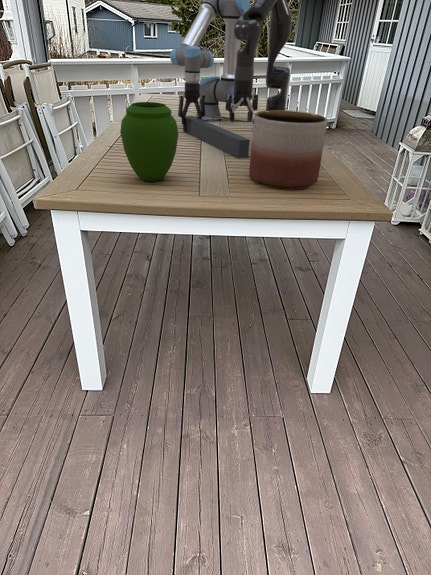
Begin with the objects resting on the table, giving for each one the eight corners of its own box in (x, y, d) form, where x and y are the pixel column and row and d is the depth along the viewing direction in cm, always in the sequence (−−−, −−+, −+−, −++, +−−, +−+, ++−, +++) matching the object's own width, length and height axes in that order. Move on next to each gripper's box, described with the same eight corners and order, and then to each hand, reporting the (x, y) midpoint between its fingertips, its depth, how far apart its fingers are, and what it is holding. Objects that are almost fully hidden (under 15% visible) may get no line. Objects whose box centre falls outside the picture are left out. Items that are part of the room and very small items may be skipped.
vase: (131, 189, 135) (125, 110, 122) (118, 172, 150) (112, 100, 137) (186, 184, 142) (187, 109, 129) (169, 168, 157) (167, 99, 144)
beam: (183, 131, 217) (183, 116, 213) (192, 130, 219) (192, 115, 215) (238, 158, 176) (239, 140, 172) (248, 157, 178) (249, 139, 174)
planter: (327, 190, 144) (341, 124, 132) (258, 191, 139) (265, 122, 128) (303, 169, 165) (312, 110, 153) (241, 169, 161) (246, 109, 149)
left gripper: (176, 83, 195) (176, 133, 208) (213, 83, 204) (211, 131, 216) (170, 81, 201) (171, 130, 213) (206, 81, 209) (205, 128, 222)
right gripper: (233, 79, 158) (230, 124, 167) (263, 79, 164) (259, 122, 173) (223, 77, 164) (221, 120, 172) (253, 77, 170) (250, 119, 178)
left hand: (191, 130), depth 214 cm, fingers open, 7 cm apart
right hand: (240, 121), depth 172 cm, fingers open, 8 cm apart
